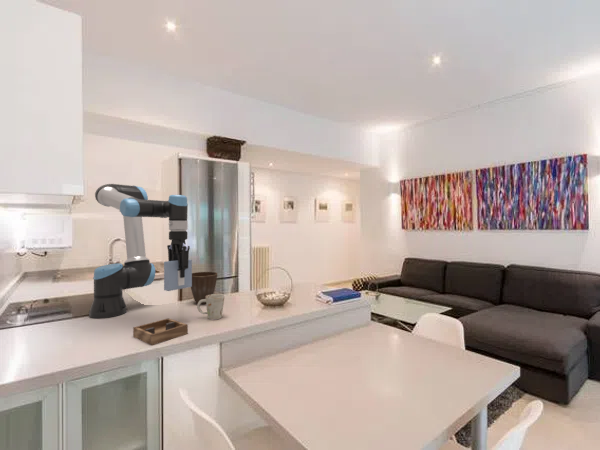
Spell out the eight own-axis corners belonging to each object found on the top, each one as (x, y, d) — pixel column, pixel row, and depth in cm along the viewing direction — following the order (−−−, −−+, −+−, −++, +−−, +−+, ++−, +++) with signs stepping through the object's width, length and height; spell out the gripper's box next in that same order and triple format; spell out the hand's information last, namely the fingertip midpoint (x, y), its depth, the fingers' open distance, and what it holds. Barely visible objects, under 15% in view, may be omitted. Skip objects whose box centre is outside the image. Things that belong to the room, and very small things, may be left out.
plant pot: (221, 300, 169) (221, 271, 169) (210, 307, 155) (210, 276, 155) (196, 299, 171) (196, 271, 171) (183, 306, 157) (183, 275, 157)
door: (164, 290, 126) (164, 261, 127) (187, 285, 135) (187, 259, 136) (168, 291, 124) (168, 262, 125) (191, 286, 133) (191, 259, 133)
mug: (221, 320, 133) (221, 298, 133) (193, 320, 133) (193, 298, 133) (226, 315, 141) (226, 293, 141) (200, 315, 141) (199, 293, 141)
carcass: (133, 336, 114) (133, 327, 114) (168, 326, 125) (168, 318, 125) (151, 345, 105) (151, 335, 105) (187, 333, 116) (187, 324, 116)
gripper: (159, 230, 132) (159, 283, 132) (181, 230, 122) (181, 288, 122) (175, 230, 138) (175, 281, 138) (197, 230, 128) (197, 285, 128)
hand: (178, 284), depth 130 cm, fingers closed on door, 3 cm apart
